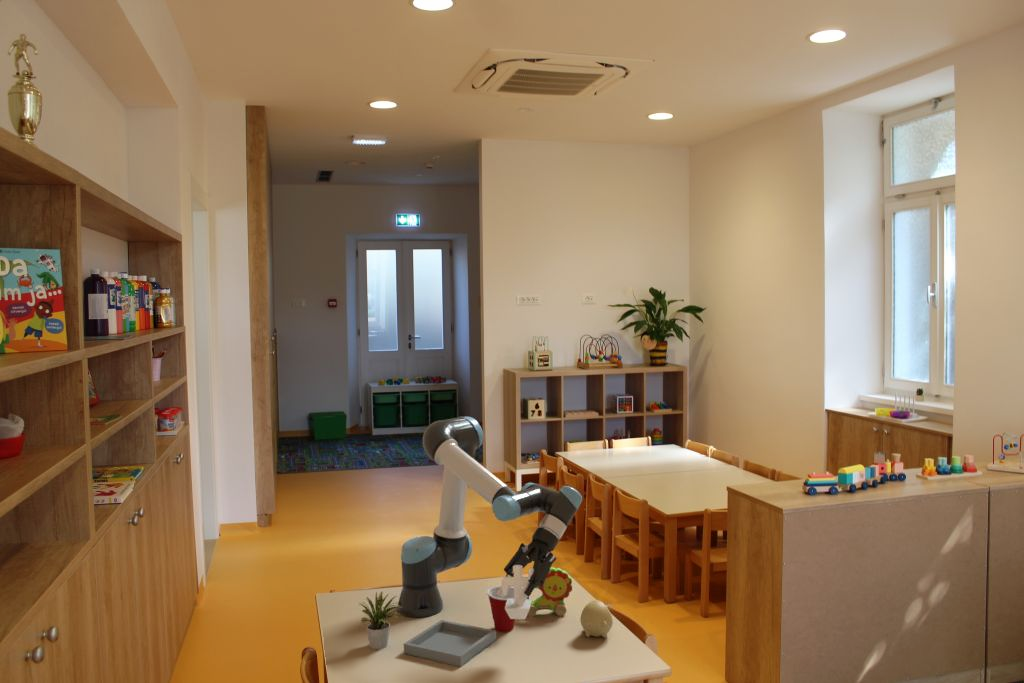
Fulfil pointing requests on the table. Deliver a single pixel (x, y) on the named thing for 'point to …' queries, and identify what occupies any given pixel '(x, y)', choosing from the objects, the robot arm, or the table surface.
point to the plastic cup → (500, 609)
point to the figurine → (516, 593)
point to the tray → (450, 642)
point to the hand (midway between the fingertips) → (509, 600)
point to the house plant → (378, 622)
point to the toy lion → (553, 593)
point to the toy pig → (596, 619)
